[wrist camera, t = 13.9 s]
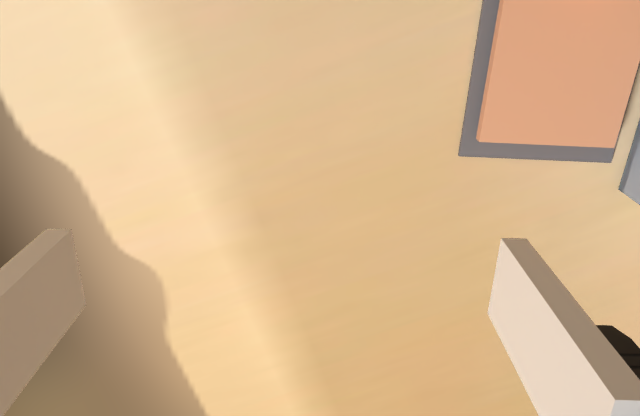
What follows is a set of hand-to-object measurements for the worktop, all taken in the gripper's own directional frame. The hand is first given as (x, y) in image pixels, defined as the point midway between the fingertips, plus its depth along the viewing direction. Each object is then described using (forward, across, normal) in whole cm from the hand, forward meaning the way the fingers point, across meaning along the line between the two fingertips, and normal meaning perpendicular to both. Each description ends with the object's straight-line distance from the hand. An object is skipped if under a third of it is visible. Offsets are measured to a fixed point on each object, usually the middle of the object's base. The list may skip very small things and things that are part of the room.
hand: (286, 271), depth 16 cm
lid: (+28, +19, +6) cm, 34 cm away
